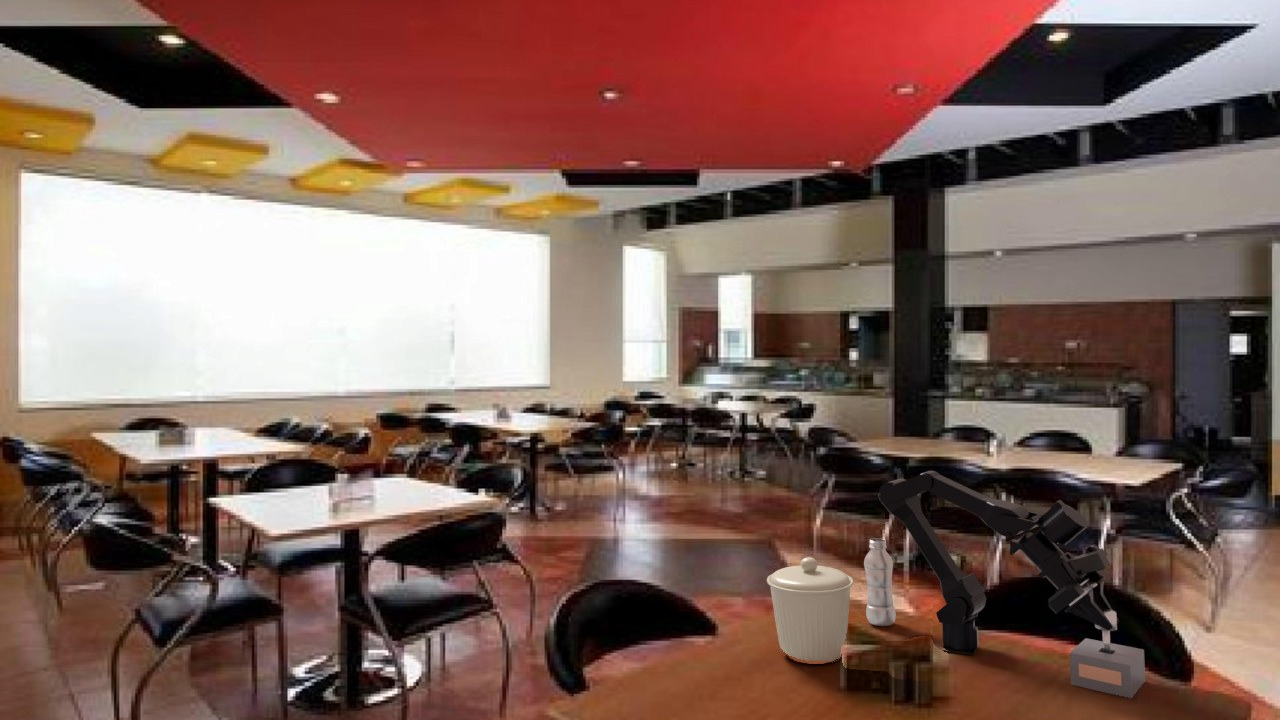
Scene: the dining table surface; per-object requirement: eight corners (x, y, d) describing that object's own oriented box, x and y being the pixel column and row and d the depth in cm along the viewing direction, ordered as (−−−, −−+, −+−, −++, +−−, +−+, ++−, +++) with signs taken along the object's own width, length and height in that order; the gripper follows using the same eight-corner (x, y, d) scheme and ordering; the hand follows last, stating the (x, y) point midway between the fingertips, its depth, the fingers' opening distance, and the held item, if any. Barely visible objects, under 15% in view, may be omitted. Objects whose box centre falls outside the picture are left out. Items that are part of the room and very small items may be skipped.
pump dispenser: (1070, 684, 151) (1069, 653, 151) (1086, 668, 158) (1085, 638, 158) (1131, 699, 144) (1129, 665, 144) (1145, 681, 151) (1143, 649, 151)
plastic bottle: (897, 629, 184) (894, 543, 184) (867, 628, 186) (864, 543, 186) (894, 620, 191) (891, 537, 191) (865, 619, 192) (862, 536, 192)
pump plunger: (1093, 658, 151) (1091, 612, 151) (1099, 652, 154) (1097, 607, 154) (1115, 662, 149) (1113, 616, 149) (1120, 657, 151) (1118, 611, 151)
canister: (752, 657, 171) (748, 559, 171) (803, 635, 183) (799, 543, 183) (823, 680, 157) (819, 573, 157) (873, 655, 170) (869, 556, 170)
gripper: (1064, 543, 147) (1135, 614, 139) (1093, 525, 161) (1159, 589, 153) (1021, 578, 153) (1086, 649, 145) (1053, 558, 166) (1114, 622, 158)
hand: (1114, 626), depth 150 cm, fingers closed on pump plunger, 4 cm apart
